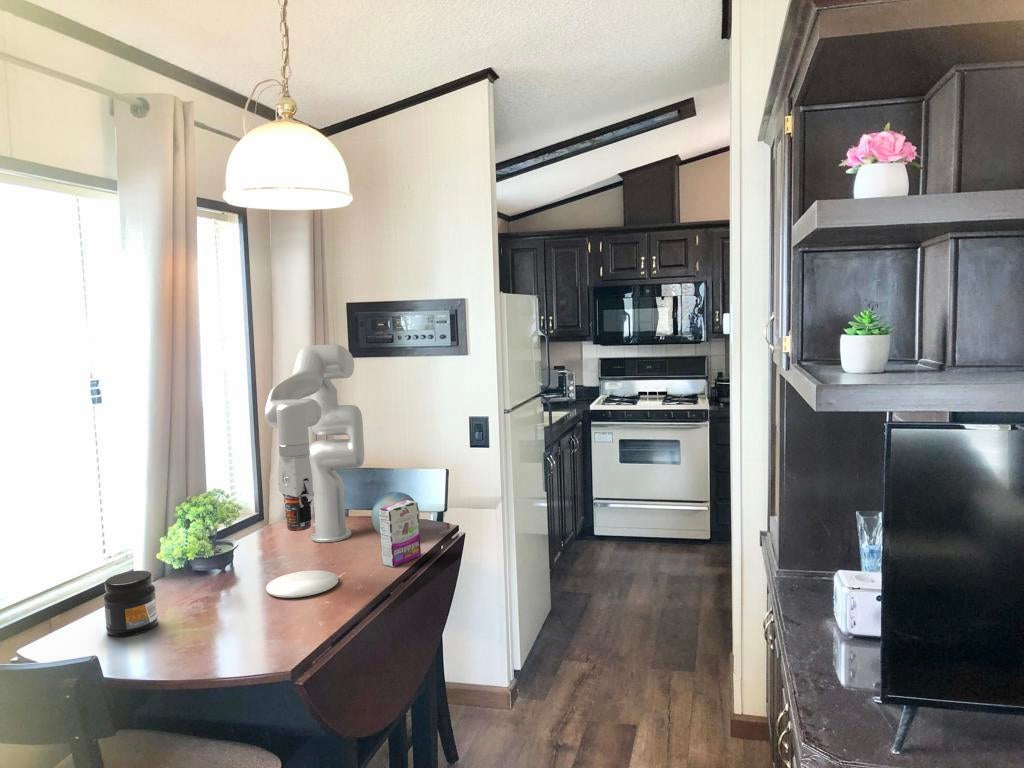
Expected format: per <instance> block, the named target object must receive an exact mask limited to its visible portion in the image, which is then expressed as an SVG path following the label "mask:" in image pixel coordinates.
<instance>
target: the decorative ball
mask: <svg viewBox="0 0 1024 768" xmlns="http://www.w3.org/2000/svg"><path fill="white" fill-rule="evenodd" d="M405 500H409V501H415V500H414V498H412V497H411V496H410V495H409V494H407V493H404V492H401V491H393V492H388V493H386V494H384V495H382V496H380V497H379V498H378V499H377V501H376V502H375V503H374V505H373V507H372V511H371V523H372V527H373V528H374V530H375V531H376V533H378V534H379V536H381V534H380V521H379V509H380V508H383V507H386V506H389V505H392V504H396V503H399V502H402V501H405ZM420 515H421V514H420V508H419V507H418V518H419V519H420Z"/></svg>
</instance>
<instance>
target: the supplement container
mask: <svg viewBox="0 0 1024 768" xmlns="http://www.w3.org/2000/svg"><path fill="white" fill-rule="evenodd" d="M156 589H157V588H156V586H155V584H153V574H152V572H150V571H148V570H131V571H126V572H121V573H118V574H115V575H112V576H110V577H108V578H107V579H106V580H105V581H104V590H105V593H104V594H103V597H102V598H103V602H104V614H105V615H104V616H105V629H106V632H107V634H109V635H111V636H114V637H130V636H129V635H131V636H134V634H135V635H138V633H139V634H143V633H145V632H147V631H149V630H150V629H152V628H153V627H154V626H156V624H157V622H158V621H159V619H158V618H159V617H158V609H157V599H156V597H157V596H156V591H157V590H156ZM144 631H145V632H144Z"/></svg>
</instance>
